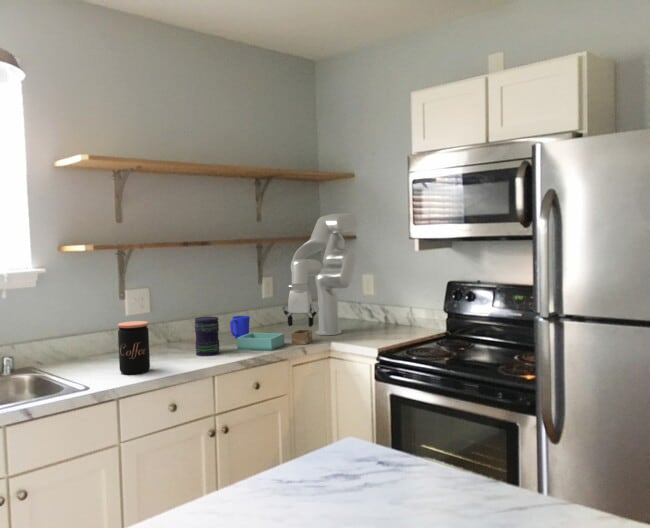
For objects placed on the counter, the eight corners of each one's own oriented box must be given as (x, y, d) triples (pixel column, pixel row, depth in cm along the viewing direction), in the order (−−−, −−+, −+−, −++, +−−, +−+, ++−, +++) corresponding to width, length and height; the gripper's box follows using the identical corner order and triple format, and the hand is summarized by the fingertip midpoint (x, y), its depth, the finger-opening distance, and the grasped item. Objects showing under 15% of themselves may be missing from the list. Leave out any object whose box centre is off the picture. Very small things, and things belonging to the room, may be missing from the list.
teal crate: (251, 343, 274) (251, 332, 273) (284, 344, 268) (284, 333, 268) (237, 349, 261) (236, 337, 260) (271, 350, 255) (271, 339, 255)
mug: (224, 339, 285) (223, 318, 284) (239, 335, 295) (238, 315, 295) (238, 341, 281) (238, 319, 280) (253, 336, 292) (252, 315, 291)
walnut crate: (299, 340, 277) (298, 329, 277) (312, 341, 275) (312, 330, 275) (291, 344, 269) (291, 333, 269) (305, 344, 267) (304, 333, 267)
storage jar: (192, 353, 255) (191, 318, 254) (214, 350, 260) (213, 315, 259) (200, 357, 246) (198, 320, 245) (223, 354, 251) (222, 318, 250)
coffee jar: (116, 375, 218) (113, 325, 217) (124, 369, 228) (122, 321, 227) (146, 374, 218) (144, 324, 217) (153, 368, 229) (151, 320, 228)
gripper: (278, 288, 270) (279, 326, 270) (315, 288, 264) (315, 327, 264) (285, 287, 277) (285, 324, 277) (321, 287, 271) (321, 325, 272)
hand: (300, 326), depth 271 cm, fingers open, 9 cm apart
